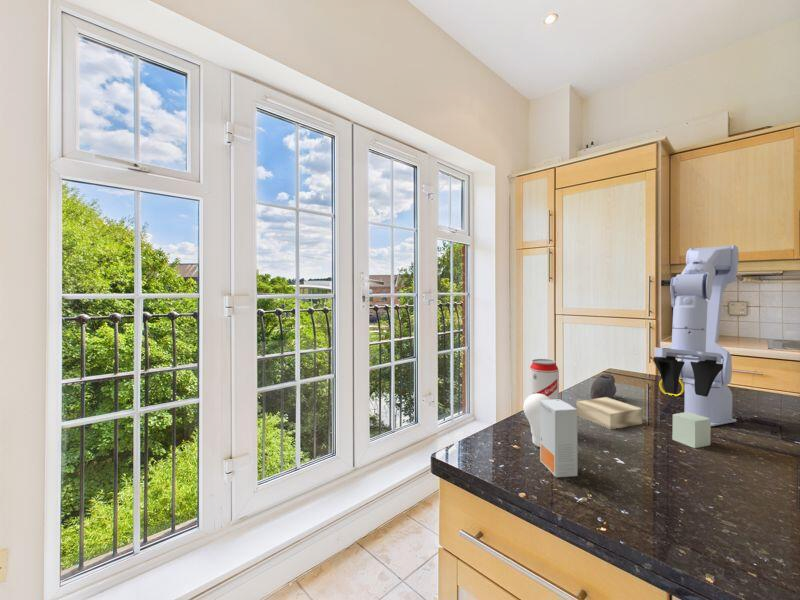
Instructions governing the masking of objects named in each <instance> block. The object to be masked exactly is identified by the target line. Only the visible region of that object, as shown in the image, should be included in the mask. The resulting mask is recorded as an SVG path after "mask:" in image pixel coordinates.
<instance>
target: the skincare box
mask: <svg viewBox="0 0 800 600" xmlns="http://www.w3.org/2000/svg"><path fill="white" fill-rule="evenodd" d="M539 461H540V463H542V464H543V466H544V467H545V468H546V469H547V470H548V471H549V472H550V473H551V474H552V476H554V477H555V478H567V477H568V478H569V477H578V466H579V465H578V416H577V408H576V407H574V406H572V405H571V404H570V403H568V402H565V401H564V400H562V399H553V400H540V447H539Z"/></svg>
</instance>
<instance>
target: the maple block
mask: <svg viewBox="0 0 800 600" xmlns="http://www.w3.org/2000/svg"><path fill="white" fill-rule="evenodd" d="M576 409H577V415H578V416H577V417H579V416H580V417H579V418H581V417H582V418H581V419H584V418H585V419H584V420H586V419H587V420H586V421H588V420H590V421H589V422H591V421H592V422H591V423H593V422H594V424H596V423H597V424H596V425H598V424H599V425H598V426H600V425H601V426H600V427H603V426H604V428H605V427H606V428H605V429H607V430H610V429H611V430H615V429H616V428H617V429H621V428H627V427H632V426H638V425H642V424H643V408H641V407H639V406H635V405H633V404H630V403H626V402H623V401H620V400H616V399H614V398H612V399H611V398H608V397H603V398H597V399H591V398H590V399H584V400H578V401H576ZM617 429H616V430H617Z"/></svg>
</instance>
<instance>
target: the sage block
mask: <svg viewBox="0 0 800 600" xmlns="http://www.w3.org/2000/svg"><path fill="white" fill-rule="evenodd" d="M683 412H684V411H683ZM683 412H679V413H678V412H677V413H678V414H677V413H674V414H672V433H671V434H672V438H671V439H672V441H675V442H678V443H680V444H682V445H685V446H688V447H691V448H693V449H697V448H702V447H707V446H711V431H712V430H711V427H712V426H711V419H710V418H706V417H703V416H700V415H696V414H693V413H690V412H684V413H683Z"/></svg>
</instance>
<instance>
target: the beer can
mask: <svg viewBox="0 0 800 600" xmlns="http://www.w3.org/2000/svg"><path fill="white" fill-rule="evenodd" d="M559 373H560V372H559V367H558V366H557V361H556V360H553V359H547V358H536V359H533V360H532V362H531V365H530V367H529V396H530V395H532V394H543V395H545V396H547V397H548V398H550V399H551V400H553V399H559V398H560V393H559V392H560V390H559V387H560V386H559V385H560V379H559V378H560V375H559Z"/></svg>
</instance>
